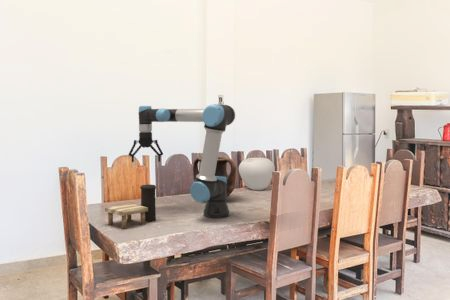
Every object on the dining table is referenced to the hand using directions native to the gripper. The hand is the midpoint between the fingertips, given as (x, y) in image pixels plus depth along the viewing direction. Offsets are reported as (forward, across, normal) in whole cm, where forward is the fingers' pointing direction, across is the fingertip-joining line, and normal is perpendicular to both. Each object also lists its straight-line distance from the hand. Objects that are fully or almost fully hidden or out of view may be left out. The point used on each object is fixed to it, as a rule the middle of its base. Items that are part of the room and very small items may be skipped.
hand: (146, 167), depth 262 cm
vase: (+28, -83, -74) cm, 114 cm away
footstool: (+27, +10, +29) cm, 41 cm away
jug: (+27, -44, -32) cm, 61 cm away
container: (+27, -2, +22) cm, 35 cm away
